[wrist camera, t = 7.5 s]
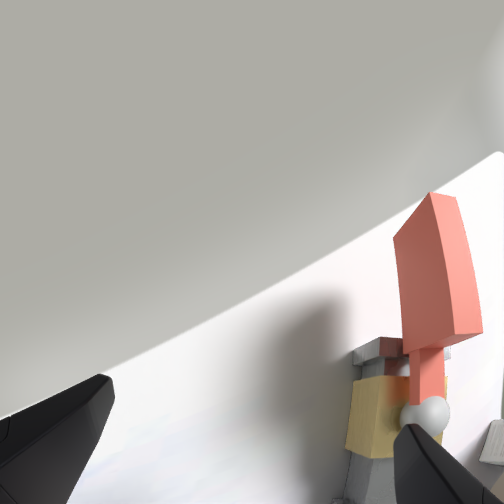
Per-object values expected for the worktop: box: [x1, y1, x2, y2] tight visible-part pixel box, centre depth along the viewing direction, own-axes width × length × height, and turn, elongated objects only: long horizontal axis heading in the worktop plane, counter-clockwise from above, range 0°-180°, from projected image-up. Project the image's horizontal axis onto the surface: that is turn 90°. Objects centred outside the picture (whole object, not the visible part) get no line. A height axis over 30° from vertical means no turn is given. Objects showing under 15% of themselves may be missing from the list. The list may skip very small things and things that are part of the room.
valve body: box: [332, 337, 450, 504], centre depth 17 cm, size 13×6×5 cm, turn 171°
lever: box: [393, 192, 483, 437], centre depth 15 cm, size 13×2×5 cm, turn 176°
